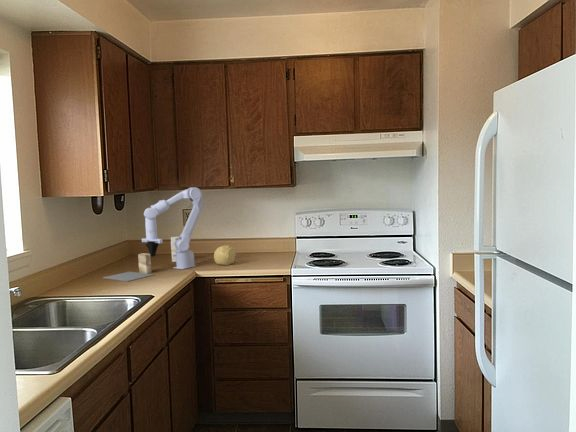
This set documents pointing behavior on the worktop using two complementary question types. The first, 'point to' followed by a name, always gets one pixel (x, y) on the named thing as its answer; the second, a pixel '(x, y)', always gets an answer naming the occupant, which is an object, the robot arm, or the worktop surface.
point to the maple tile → (144, 263)
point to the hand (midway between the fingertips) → (153, 256)
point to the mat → (128, 276)
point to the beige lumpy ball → (225, 255)
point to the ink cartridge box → (173, 248)
